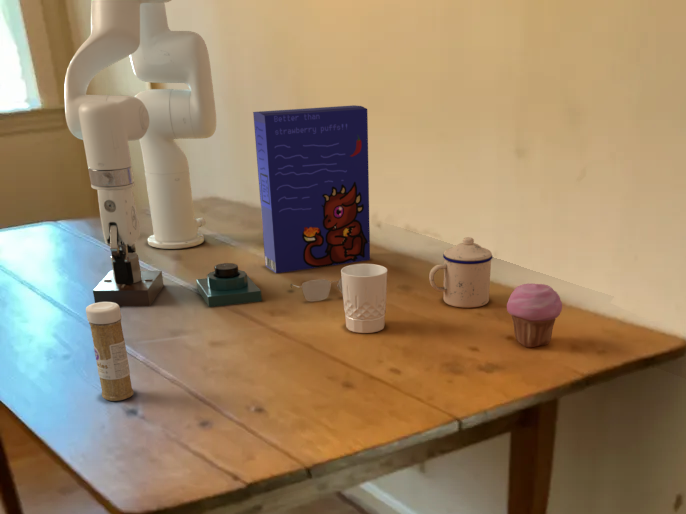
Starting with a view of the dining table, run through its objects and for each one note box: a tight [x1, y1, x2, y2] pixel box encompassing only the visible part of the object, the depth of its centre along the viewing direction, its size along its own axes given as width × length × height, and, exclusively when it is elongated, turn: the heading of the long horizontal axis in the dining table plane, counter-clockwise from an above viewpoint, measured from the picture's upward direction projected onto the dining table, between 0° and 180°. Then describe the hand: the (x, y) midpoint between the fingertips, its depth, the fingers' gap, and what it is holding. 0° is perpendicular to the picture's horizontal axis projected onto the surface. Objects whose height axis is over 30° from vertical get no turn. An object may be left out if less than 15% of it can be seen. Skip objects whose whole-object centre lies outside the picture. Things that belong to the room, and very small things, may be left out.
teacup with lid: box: [428, 236, 493, 309], centre depth 167 cm, size 12×9×12 cm
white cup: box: [340, 263, 388, 334], centre depth 155 cm, size 8×8×10 cm
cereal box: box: [252, 104, 371, 274], centre depth 185 cm, size 22×6×30 cm, turn 119°
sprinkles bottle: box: [85, 302, 134, 402], centre depth 129 cm, size 5×5×13 cm
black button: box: [213, 262, 239, 278], centre depth 171 cm, size 4×4×2 cm
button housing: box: [195, 269, 263, 308], centre depth 172 cm, size 12×10×4 cm
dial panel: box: [92, 270, 165, 307], centre depth 172 cm, size 13×10×3 cm
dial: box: [110, 253, 142, 283], centre depth 170 cm, size 5×5×5 cm
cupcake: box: [506, 282, 563, 348], centre depth 149 cm, size 9×9×10 cm
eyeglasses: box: [290, 277, 343, 303], centre depth 174 cm, size 14×8×4 cm, turn 112°
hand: (127, 278), depth 171 cm, fingers closed on dial, 5 cm apart
